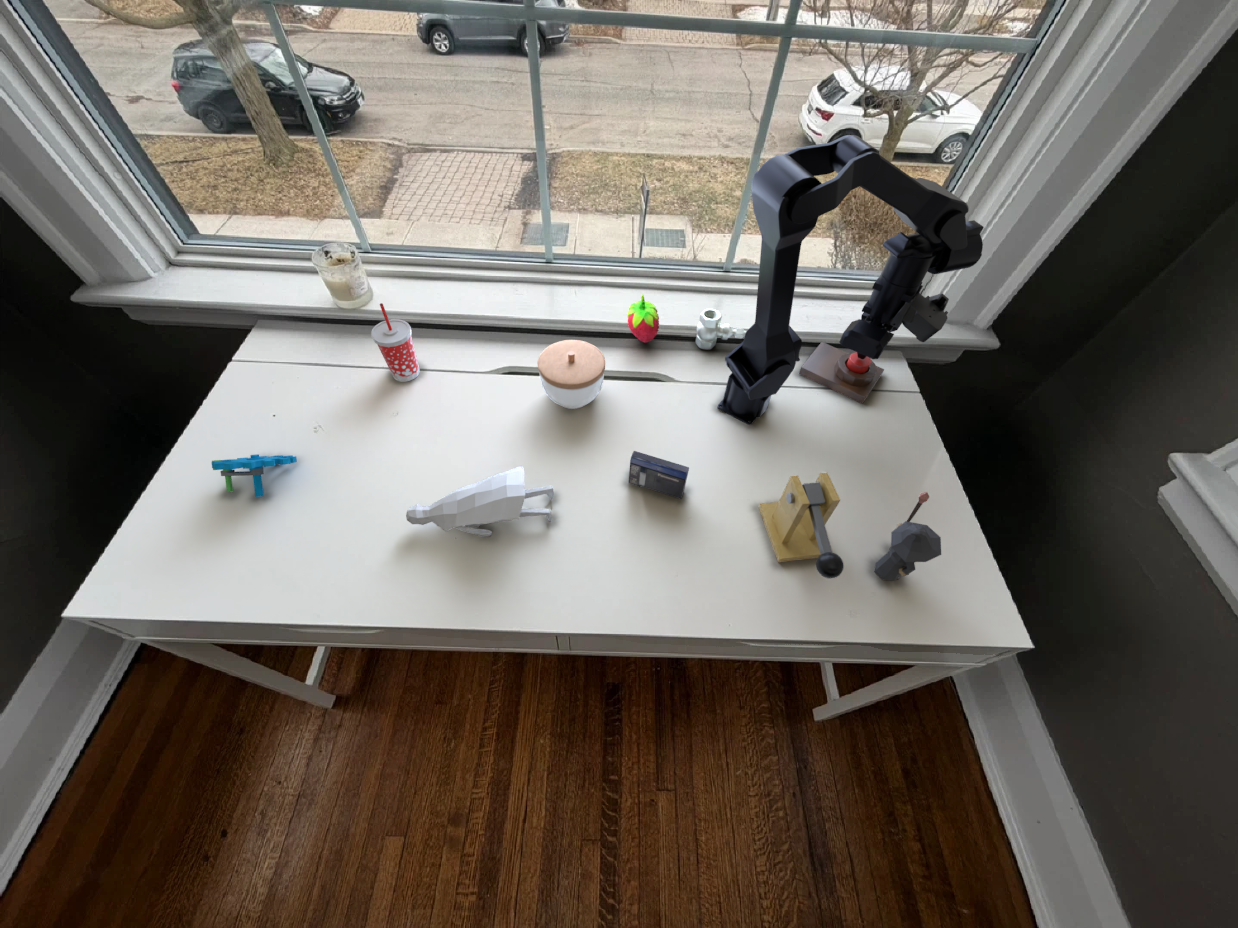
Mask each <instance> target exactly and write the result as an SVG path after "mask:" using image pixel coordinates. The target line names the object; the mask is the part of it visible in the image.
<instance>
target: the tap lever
mask: <svg viewBox="0 0 1238 928" xmlns="http://www.w3.org/2000/svg"><path fill="white" fill-rule="evenodd" d="M815 482H816V481H815ZM815 482H808V483H803V484H802V486H803V488H804V491H805V493H806V495H807V498H808V500H809V502H810V504H809V506H808V508H807V509H809V513H810V516H811V520H812V524H813V528H814V531H815V535H816V539H817V543H818V547H819V550H820V554H821V555H820V556H819V557H818V558H816V561H815V568H816V570H817V572H818V574H819V575H821V577H823V578H826V579H836V578H838V577H839V576H840V575H842V573H843V571H844V567H845V565H844V564H845V563H844V561H843V559H842V557H841V556H840V555H839V554H837V553H835V552H833V550H832V547H831V542H830V538H829V537H828V536H829V535H828V532H827V528H826V524H824V521H823V517H822V513H821V510H820V506H821V505H823V504H824V503H825V499H824V496H823V492H822V488H821V485H820V482H816V483H815Z"/></svg>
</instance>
